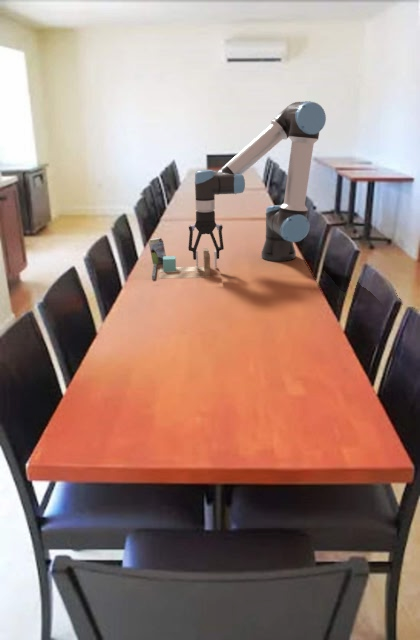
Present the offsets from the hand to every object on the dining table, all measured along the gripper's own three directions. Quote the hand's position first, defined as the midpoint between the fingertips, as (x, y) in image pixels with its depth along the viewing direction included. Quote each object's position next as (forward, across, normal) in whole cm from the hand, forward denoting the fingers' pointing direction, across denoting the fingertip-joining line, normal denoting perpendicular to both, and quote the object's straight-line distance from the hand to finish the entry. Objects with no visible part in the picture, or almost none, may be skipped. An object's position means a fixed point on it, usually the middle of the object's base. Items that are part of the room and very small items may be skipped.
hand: (206, 266), depth 231 cm
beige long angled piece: (+2, +9, 0) cm, 9 cm away
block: (+1, +15, 0) cm, 15 cm away
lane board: (+2, +9, +4) cm, 10 cm away
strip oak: (+2, +9, +9) cm, 13 cm away
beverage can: (+2, +20, -12) cm, 23 cm away
